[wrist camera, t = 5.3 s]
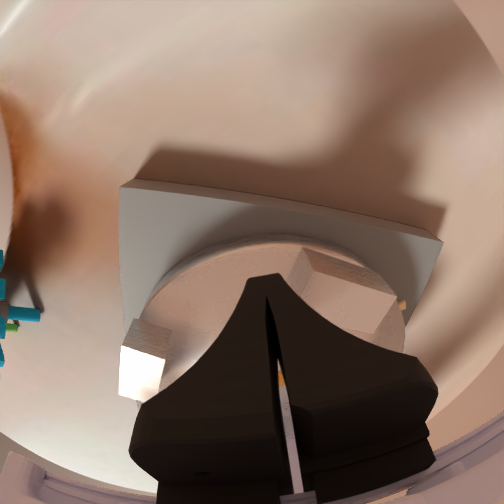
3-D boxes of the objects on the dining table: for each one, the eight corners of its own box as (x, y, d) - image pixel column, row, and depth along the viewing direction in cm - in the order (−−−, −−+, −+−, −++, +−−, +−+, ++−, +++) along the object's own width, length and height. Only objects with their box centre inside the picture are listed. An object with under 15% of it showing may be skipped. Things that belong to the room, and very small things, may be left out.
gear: (-8, 210, 12) (-7, 371, 9) (59, 231, 18) (75, 369, 14) (-33, 274, 16) (-26, 384, 13) (15, 283, 21) (27, 384, 18)
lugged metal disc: (219, 436, 21) (218, 474, 18) (88, 304, 15) (60, 349, 11) (400, 374, 19) (419, 412, 15) (358, 180, 12) (401, 205, 9)
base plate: (338, 405, 24) (344, 424, 22) (142, 391, 22) (138, 411, 20) (426, 230, 16) (445, 243, 14) (133, 178, 14) (117, 187, 12)
